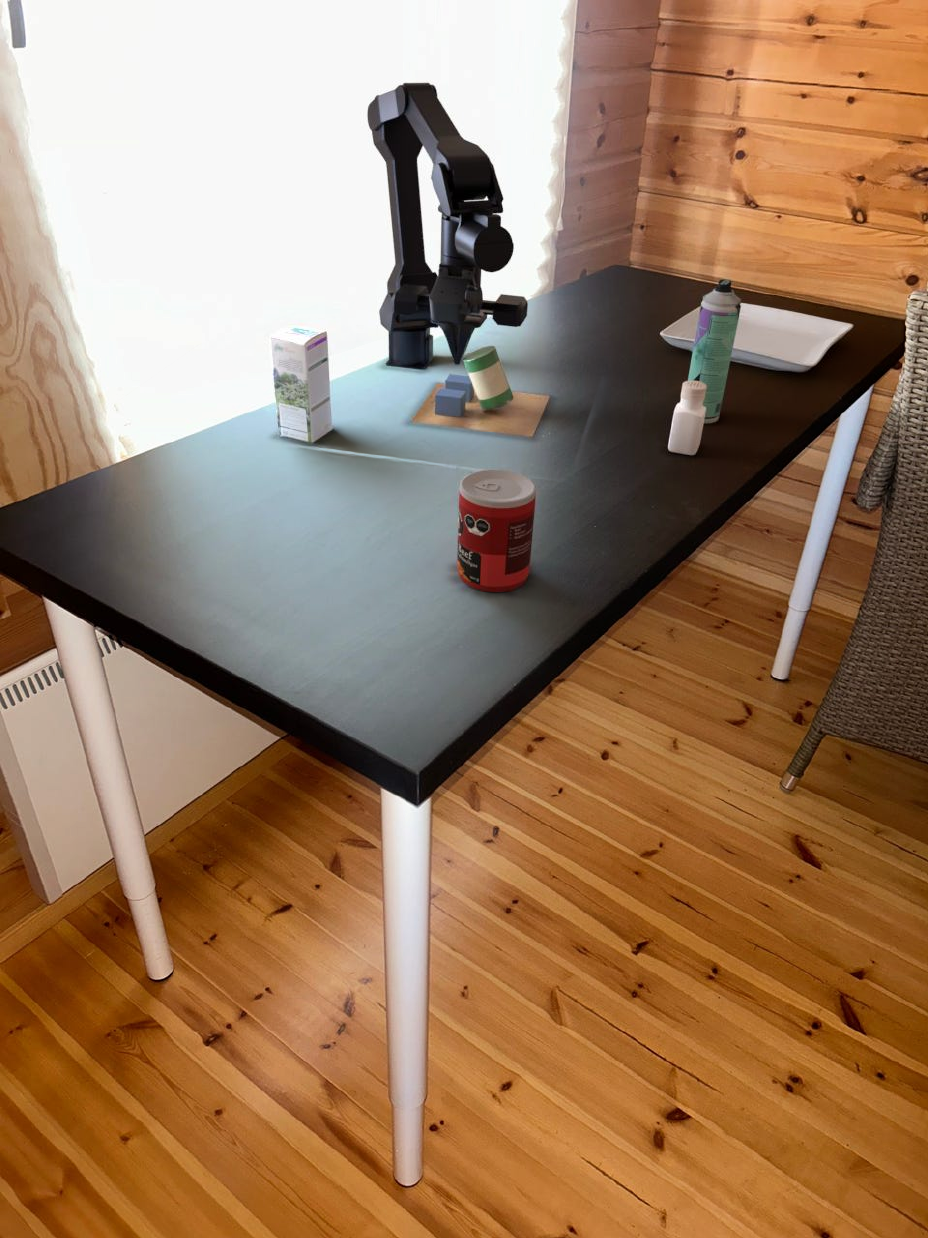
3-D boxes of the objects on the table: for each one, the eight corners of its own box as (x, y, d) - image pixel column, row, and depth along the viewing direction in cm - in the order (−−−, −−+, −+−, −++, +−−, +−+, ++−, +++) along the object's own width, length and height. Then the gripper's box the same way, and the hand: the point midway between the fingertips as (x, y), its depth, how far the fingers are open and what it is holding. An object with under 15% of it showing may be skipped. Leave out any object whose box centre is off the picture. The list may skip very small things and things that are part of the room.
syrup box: (334, 430, 135) (329, 329, 127) (311, 446, 130) (304, 341, 122) (299, 422, 137) (292, 322, 128) (276, 437, 132) (267, 334, 124)
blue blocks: (434, 414, 140) (434, 394, 138) (449, 392, 147) (449, 373, 145) (460, 417, 139) (461, 398, 138) (474, 395, 147) (475, 376, 145)
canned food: (454, 557, 107) (456, 469, 101) (523, 556, 108) (530, 468, 102) (459, 594, 101) (462, 502, 95) (533, 593, 102) (541, 502, 96)
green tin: (445, 397, 140) (468, 342, 135) (453, 384, 144) (476, 331, 139) (500, 425, 141) (526, 371, 135) (507, 412, 145) (532, 359, 139)
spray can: (716, 410, 146) (742, 276, 134) (720, 424, 141) (748, 287, 130) (680, 407, 146) (703, 274, 135) (683, 422, 142) (707, 284, 130)
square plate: (850, 342, 175) (856, 321, 172) (808, 386, 155) (814, 363, 153) (709, 314, 186) (713, 293, 184) (654, 352, 167) (657, 330, 165)
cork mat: (410, 423, 138) (410, 421, 138) (437, 384, 151) (437, 382, 150) (532, 439, 135) (532, 436, 135) (550, 398, 148) (550, 395, 147)
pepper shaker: (666, 452, 133) (677, 387, 127) (671, 441, 136) (682, 377, 130) (695, 457, 132) (707, 391, 126) (699, 446, 135) (711, 381, 129)
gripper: (378, 260, 126) (380, 375, 135) (516, 274, 123) (509, 390, 131) (402, 242, 135) (402, 350, 144) (532, 254, 132) (524, 364, 140)
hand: (457, 364), depth 139 cm, fingers closed
